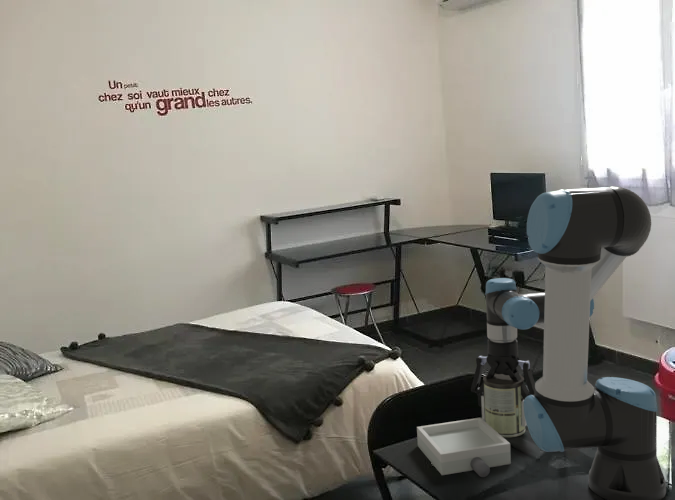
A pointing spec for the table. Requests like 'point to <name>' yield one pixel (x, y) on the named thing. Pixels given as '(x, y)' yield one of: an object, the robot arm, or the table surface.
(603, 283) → the robot arm
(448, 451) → the white square tray
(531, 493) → the table surface
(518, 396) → the coffee can
